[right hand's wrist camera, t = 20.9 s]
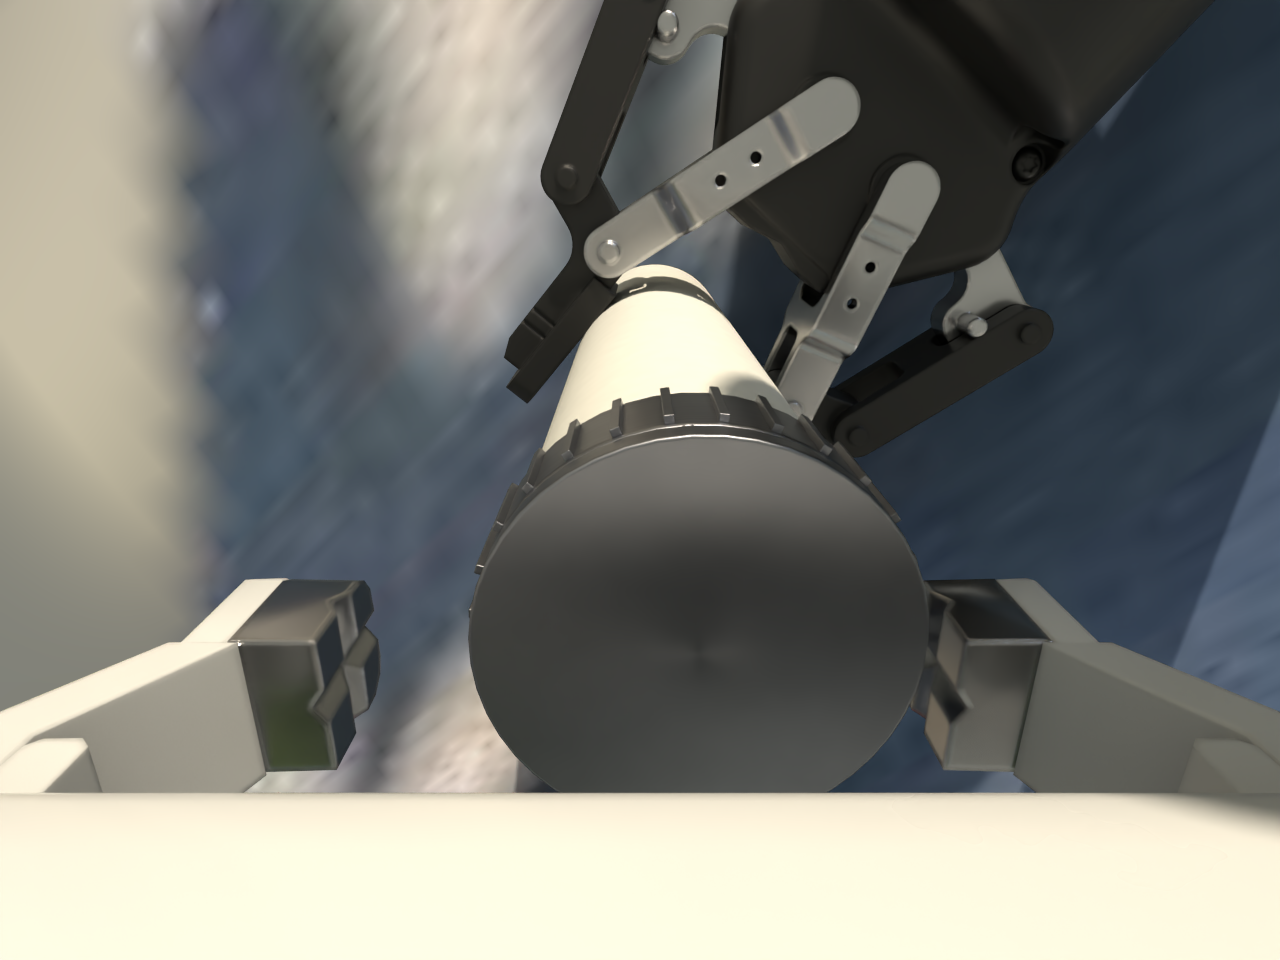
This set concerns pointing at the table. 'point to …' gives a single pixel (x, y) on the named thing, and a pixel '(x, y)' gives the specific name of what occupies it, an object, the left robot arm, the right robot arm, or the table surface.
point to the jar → (658, 350)
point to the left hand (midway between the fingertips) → (596, 445)
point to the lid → (696, 605)
